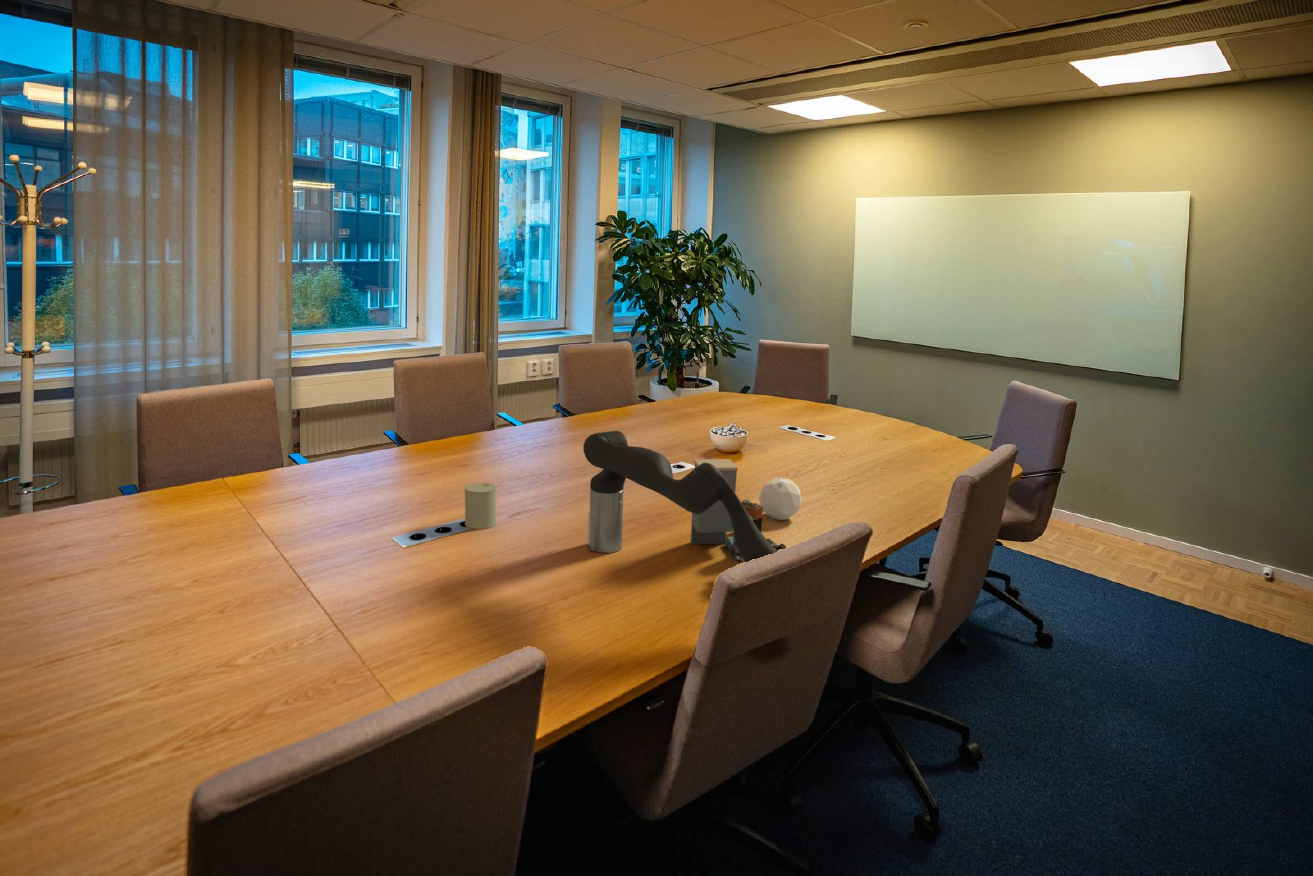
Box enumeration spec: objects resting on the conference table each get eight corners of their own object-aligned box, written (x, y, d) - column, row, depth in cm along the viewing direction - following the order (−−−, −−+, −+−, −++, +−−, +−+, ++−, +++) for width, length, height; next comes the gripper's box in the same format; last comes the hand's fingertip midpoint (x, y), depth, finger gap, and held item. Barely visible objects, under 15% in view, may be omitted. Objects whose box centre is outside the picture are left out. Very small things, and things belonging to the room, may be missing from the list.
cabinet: (696, 553, 224) (700, 467, 218) (689, 542, 232) (694, 459, 226) (732, 552, 226) (737, 467, 220) (724, 541, 234) (730, 459, 228)
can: (502, 523, 241) (502, 485, 238) (480, 531, 234) (480, 492, 231) (480, 516, 246) (480, 479, 243) (458, 524, 238) (457, 486, 235)
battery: (743, 528, 245) (745, 497, 243) (761, 534, 241) (764, 503, 238) (734, 532, 242) (736, 500, 239) (753, 538, 238) (755, 506, 235)
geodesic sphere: (807, 512, 245) (806, 470, 250) (762, 510, 245) (762, 468, 250) (799, 526, 258) (798, 486, 263) (756, 524, 258) (756, 484, 263)
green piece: (735, 561, 220) (738, 519, 217) (724, 545, 231) (727, 505, 228) (749, 560, 221) (752, 519, 218) (738, 544, 232) (741, 505, 229)
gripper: (799, 550, 197) (778, 528, 213) (743, 552, 195) (726, 529, 210) (797, 579, 199) (776, 555, 215) (741, 581, 197) (725, 556, 212)
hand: (751, 542), depth 212 cm, fingers open, 8 cm apart
